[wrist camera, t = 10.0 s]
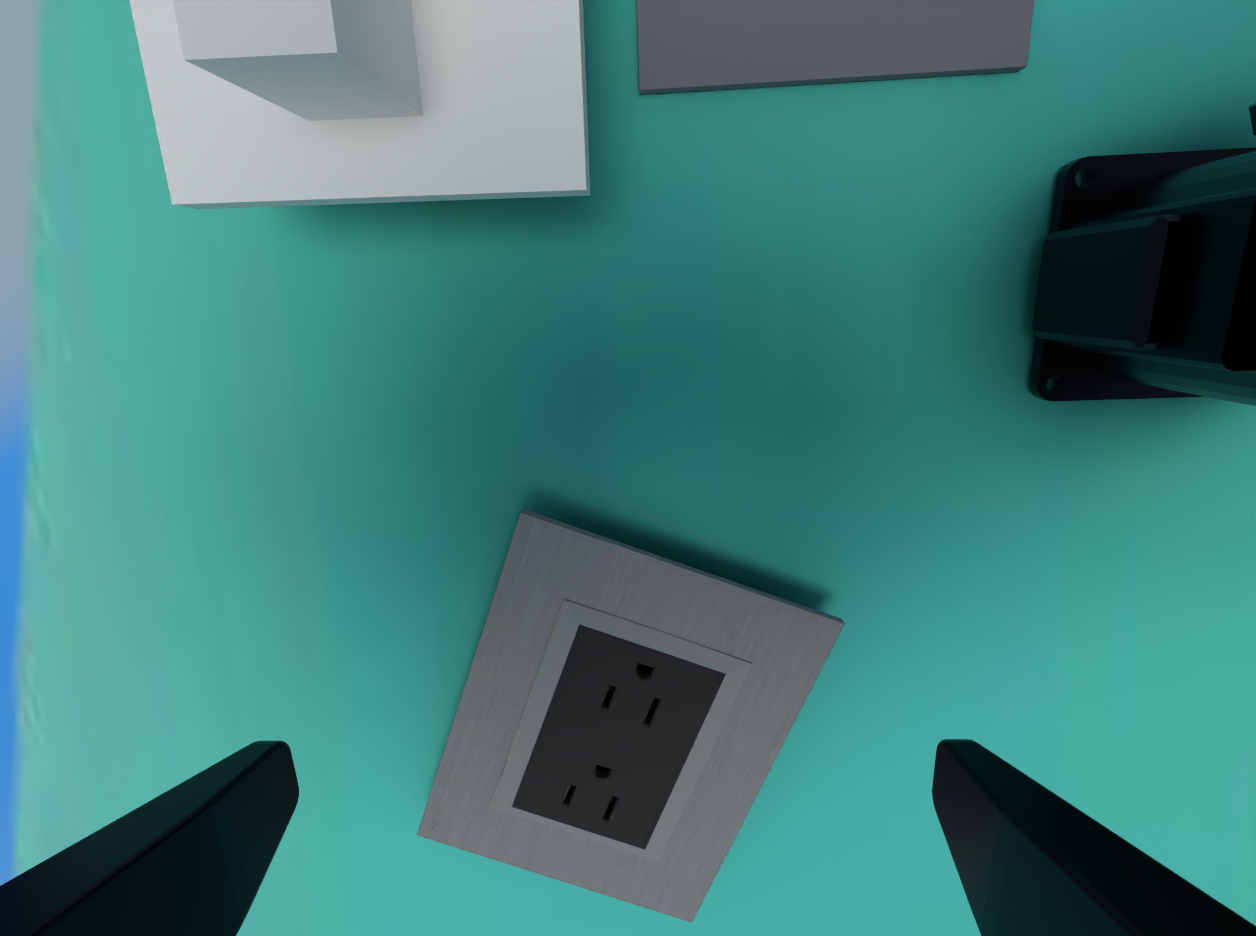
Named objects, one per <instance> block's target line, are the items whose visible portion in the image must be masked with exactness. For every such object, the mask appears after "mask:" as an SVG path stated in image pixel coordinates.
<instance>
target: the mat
mask: <svg viewBox="0 0 1256 936" xmlns="http://www.w3.org/2000/svg"><path fill="white" fill-rule="evenodd" d="M1033 7H1034V0H637V22H638V53H639V85H640V95H642V94H658V93H675V92H691V91H708V90H724V89H740V88H757V87H773V86H790V85H806V84H823V83H839V82H856V81H872V80H888V79H905V78H921V77H938V76H954V75H971V74H987V73H1004V72H1018V71H1020V70H1021V69H1023V68H1025V67H1026V66H1027V58H1028V50H1029V41H1030V33H1031V24H1032V15H1033Z"/></svg>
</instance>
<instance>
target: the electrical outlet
mask: <svg viewBox="0 0 1256 936" xmlns="http://www.w3.org/2000/svg"><path fill="white" fill-rule="evenodd" d="M844 624H845V623H844V622H843V621H842V619H840V618H838V617H835V616H832V615H829V614H826V613H823V612H820V611H817V610H814V609H812V608H809V607H806V606H803V605H800V604H797V603H794V602H791V601H788V600H786V599H783V598H780V597H777V596H774V595H771V594H768V593H765V592H762V591H760V590H757V589H754V588H751V587H748V586H745V585H742V584H739V583H736V582H734V581H731V580H728V579H725V578H722V577H719V576H716V575H713V574H710V573H708V572H705V571H702V570H699V569H696V568H693V567H690V566H687V565H684V564H682V563H679V562H676V561H673V560H670V559H667V558H664V557H661V556H658V555H656V554H653V553H650V552H647V551H644V550H641V549H638V548H635V547H632V546H630V545H627V544H624V543H621V542H618V541H615V540H612V539H609V538H606V537H604V536H601V535H598V534H595V533H592V532H589V531H586V530H583V529H580V528H578V527H575V526H572V525H569V524H566V523H563V522H560V521H557V520H554V519H552V518H549V517H546V516H543V515H540V514H537V513H534V512H531V511H528V510H526V509H523V510H522V511H521V513H520V516H519V519H518V523H517V526H516V529H515V532H514V535H513V538H512V541H511V544H510V547H509V550H508V554H507V557H506V560H505V563H504V566H503V569H502V572H501V575H500V578H499V581H498V585H497V588H496V591H495V594H494V597H493V600H492V603H491V606H490V609H489V613H488V616H487V619H486V622H485V625H484V628H483V631H482V634H481V637H480V640H479V644H478V647H477V650H476V653H475V656H474V659H473V662H472V665H471V668H470V671H469V675H468V678H467V681H466V684H465V687H464V690H463V693H462V696H461V699H460V702H459V706H458V709H457V712H456V715H455V718H454V721H453V724H452V727H451V730H450V733H449V737H448V740H447V743H446V746H445V749H444V752H443V755H442V758H441V761H440V764H439V768H438V771H437V774H436V777H435V780H434V783H433V786H432V789H431V792H430V795H429V799H428V802H427V805H426V808H425V811H424V814H423V817H422V820H421V823H420V826H419V830H418V833H417V835H418V836H422V837H425V838H428V839H431V840H434V841H437V842H440V843H444V844H447V845H450V846H453V847H456V848H459V849H462V850H466V851H469V852H472V853H475V854H478V855H481V856H484V857H487V858H491V859H494V860H497V861H500V862H503V863H506V864H509V865H513V866H516V867H519V868H522V869H525V870H528V871H531V872H535V873H538V874H541V875H544V876H547V877H550V878H553V879H557V880H560V881H563V882H566V883H569V884H572V885H575V886H579V887H582V888H585V889H588V890H591V891H594V892H597V893H601V894H604V895H607V896H610V897H613V898H616V899H619V900H623V901H626V902H629V903H632V904H635V905H638V906H641V907H645V908H648V909H651V910H654V911H657V912H660V913H663V914H666V915H670V916H673V917H676V918H679V919H682V920H685V921H688V922H693V920H694V918H695V916H696V914H697V912H698V910H699V908H700V906H701V904H702V902H703V900H704V898H705V896H706V894H707V892H708V890H709V888H710V886H711V884H712V882H713V880H714V878H715V876H716V874H717V873H718V871H719V869H720V867H721V865H722V863H723V861H724V859H725V857H726V855H727V853H728V851H729V849H730V847H731V845H732V843H733V841H734V839H735V837H736V835H737V833H738V831H739V829H740V827H741V826H742V824H743V822H744V820H745V818H746V816H747V814H748V812H749V810H750V808H751V806H752V804H753V802H754V800H755V798H756V796H757V794H758V792H759V790H760V788H761V786H762V784H763V782H764V780H765V779H766V777H767V775H768V773H769V771H770V769H771V767H772V765H773V763H774V761H775V759H776V757H777V755H778V753H779V751H780V749H781V747H782V745H783V743H784V741H785V739H786V737H787V735H788V733H789V731H790V730H791V728H792V726H793V724H794V722H795V720H796V718H797V716H798V714H799V712H800V710H801V708H802V706H803V704H804V702H805V700H806V698H807V696H808V694H809V692H810V690H811V688H812V686H813V684H814V683H815V681H816V679H817V677H818V675H819V673H820V671H821V669H822V667H823V665H824V663H825V661H826V659H827V657H828V655H829V653H830V651H831V649H832V647H833V645H834V643H835V641H836V639H837V637H838V636H839V634H840V632H841V630H842V628H843V626H844Z"/></svg>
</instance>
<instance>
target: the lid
mask: <svg viewBox="0 0 1256 936" xmlns="http://www.w3.org/2000/svg"><path fill="white" fill-rule="evenodd" d="M130 5H131V10H132V15H133V19H134V24H135V29H136V34H137V38H138V43H139V48H140V53H141V58H142V62H143V67H144V72H145V77H146V81H147V86H148V91H149V96H150V101H151V105H152V110H153V115H154V120H155V124H156V129H157V134H158V139H159V143H160V148H161V153H162V158H163V163H164V167H165V172H166V177H167V182H168V186H169V191H170V196H171V201H172V205H178V206H184V207H189V208H195V209H219V208H248V207H276V206H305V205H333V204H362V203H391V202H419V201H448V200H477V199H505V198H534V197H562V196H591V195H590V169H589V144H588V118H587V92H586V66H585V40H584V14H583V0H130Z"/></svg>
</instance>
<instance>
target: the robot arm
mask: <svg viewBox="0 0 1256 936" xmlns="http://www.w3.org/2000/svg"><path fill="white" fill-rule="evenodd" d="M1249 111H1250V117H1251V122H1252V128H1253V134H1254V135H1256V103H1254V104H1252V105H1250V106H1249ZM1079 170H1082V171H1083V172H1084V174H1085V178H1086V180H1085V182H1084V185H1083V186H1082V187H1079V186H1078V185H1077V184H1076V180H1075V177H1076V174H1077V172H1078V171H1079ZM1032 330H1033V332H1034V333H1035V334H1036V338H1035V346H1034V353H1033V361H1032V368H1031V375H1030V390H1031V392H1032V394H1033V395H1034V396H1036V397H1037V398H1040V399H1044V400H1048V401H1078V400H1110V399H1142V398H1174V397H1211V398H1216V399H1221V400H1227V401H1232V402H1237V403H1243V404H1248V405H1253V406H1256V148H1241V149H1222V150H1203V151H1184V152H1165V153H1146V154H1127V155H1108V156H1089V157H1085V158H1081V159H1078V160H1074V161H1071V162H1070V163H1068V164H1067V165H1065V166H1064V167H1063V168H1062V170H1061V171H1060V172H1059V175H1058V178H1057V181H1056V189H1055V196H1054V204H1053V211H1052V219H1051V226H1050V233H1049V237H1048V238H1047V239H1046V240H1045V241H1044V243H1043V250H1042V257H1041V265H1040V273H1039V280H1038V288H1037V295H1036V303H1035V311H1034V318H1033V326H1032ZM1052 376H1055V377H1056V384H1055V386H1054V387H1053V388H1052V389H1051V390H1047V388H1046V383H1047V381H1048V379H1050V378H1051V377H1052ZM298 797H299V786H298V781H297V777H296V772H295V768H294V763H293V759H292V754H291V750H290V747H289V746H288V744H287V743H286V742H283V741H256V742H253V743H251V744H250V745H248V746H246V747H244V748H242V749H241V750H239V751H237V752H235V753H234V754H232V755H230V756H228V757H227V758H225V759H223V760H221V761H220V762H218V763H216V764H214V765H213V766H211V767H209V768H207V769H205V770H204V771H202V772H200V773H198V774H197V775H195V776H193V777H191V778H190V779H188V780H186V781H184V782H183V783H181V784H179V785H177V786H176V787H174V788H172V789H170V790H168V791H167V792H165V793H163V794H161V795H160V796H158V797H156V798H154V799H153V800H151V801H149V802H147V803H146V804H144V805H142V806H140V807H139V808H137V809H135V810H133V811H131V812H130V813H128V814H126V815H124V816H123V817H121V818H119V819H117V820H116V821H114V822H112V823H110V824H109V825H107V826H105V827H103V828H101V829H100V830H98V831H96V832H94V833H93V834H91V835H89V836H87V837H86V838H84V839H82V840H80V841H79V842H77V843H75V844H73V845H72V846H70V847H68V848H66V849H64V850H63V851H61V852H59V853H57V854H56V855H54V856H52V857H50V858H49V859H47V860H45V861H43V862H42V863H40V864H38V865H36V866H35V867H33V868H31V869H29V870H27V871H26V872H24V873H22V874H20V875H19V876H17V877H15V878H13V879H12V880H10V881H8V882H6V883H5V884H3V885H1V886H0V936H236V935H237V933H238V931H239V929H240V927H241V925H242V923H243V921H244V919H245V917H246V915H247V913H248V911H249V909H250V907H251V905H252V903H253V901H254V899H255V896H256V894H257V892H258V890H259V888H260V885H261V883H262V881H263V879H264V876H265V874H266V872H267V870H268V868H269V865H270V863H271V861H272V859H273V857H274V854H275V852H276V850H277V848H278V846H279V843H280V841H281V839H282V837H283V835H284V832H285V830H286V828H287V826H288V824H289V821H290V819H291V817H292V815H293V813H294V810H295V808H296V805H297V802H298ZM932 797H933V803H934V807H935V810H936V813H937V816H938V819H939V822H940V824H941V827H942V830H943V833H944V835H945V838H946V841H947V844H948V846H949V849H950V852H951V855H952V857H953V860H954V863H955V866H956V869H957V871H958V874H959V877H960V880H961V882H962V885H963V888H964V891H965V893H966V896H967V899H968V902H969V904H970V907H971V910H972V913H973V915H974V918H975V920H976V923H977V926H978V928H979V931H980V933H981V936H1256V926H1255V925H1253V924H1252V923H1250V922H1249V921H1247V920H1246V919H1244V918H1243V917H1241V916H1240V915H1238V914H1237V913H1235V912H1234V911H1232V910H1231V909H1229V908H1228V907H1226V906H1225V905H1223V904H1222V903H1220V902H1218V901H1217V900H1215V899H1214V898H1212V897H1211V896H1209V895H1208V894H1206V893H1205V892H1203V891H1202V890H1200V889H1199V888H1197V887H1196V886H1194V885H1193V884H1191V883H1190V882H1188V881H1187V880H1185V879H1184V878H1182V877H1181V876H1179V875H1177V874H1176V873H1174V872H1173V871H1171V870H1170V869H1168V868H1167V867H1165V866H1164V865H1162V864H1161V863H1159V862H1158V861H1156V860H1155V859H1153V858H1152V857H1150V856H1149V855H1147V854H1146V853H1144V852H1143V851H1141V850H1139V849H1138V848H1136V847H1135V846H1133V845H1132V844H1130V843H1129V842H1127V841H1126V840H1124V839H1123V838H1121V837H1120V836H1118V835H1117V834H1115V833H1114V832H1112V831H1111V830H1109V829H1108V828H1106V827H1105V826H1103V825H1102V824H1100V823H1098V822H1097V821H1095V820H1094V819H1092V818H1091V817H1089V816H1088V815H1086V814H1085V813H1083V812H1082V811H1080V810H1079V809H1077V808H1076V807H1074V806H1073V805H1071V804H1070V803H1068V802H1067V801H1065V800H1064V799H1062V798H1061V797H1059V796H1057V795H1056V794H1054V793H1053V792H1051V791H1050V790H1048V789H1047V788H1045V787H1044V786H1042V785H1041V784H1039V783H1038V782H1036V781H1035V780H1033V779H1032V778H1030V777H1029V776H1027V775H1026V774H1024V773H1023V772H1021V771H1019V770H1018V769H1016V768H1015V767H1013V766H1012V765H1010V764H1009V763H1007V762H1006V761H1004V760H1003V759H1001V758H1000V757H998V756H997V755H995V754H994V753H992V752H991V751H989V750H988V749H986V748H985V747H983V746H982V745H980V744H978V743H977V742H975V741H973V740H969V739H945V740H942V741H940V742H939V744H938V746H937V750H936V759H935V768H934V777H933V786H932Z"/></svg>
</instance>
